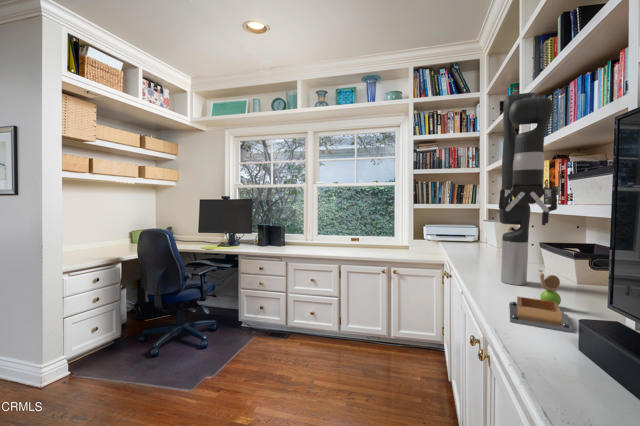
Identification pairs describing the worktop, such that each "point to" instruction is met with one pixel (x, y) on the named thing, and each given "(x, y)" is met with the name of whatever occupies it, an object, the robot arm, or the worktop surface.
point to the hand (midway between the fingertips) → (525, 224)
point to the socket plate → (539, 314)
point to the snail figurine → (550, 288)
